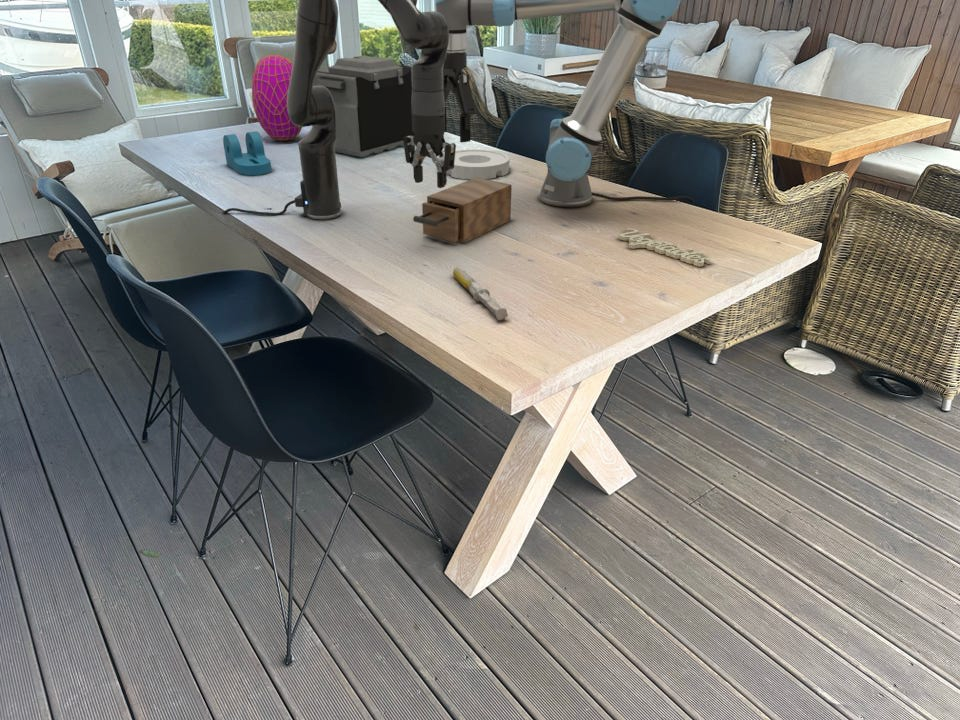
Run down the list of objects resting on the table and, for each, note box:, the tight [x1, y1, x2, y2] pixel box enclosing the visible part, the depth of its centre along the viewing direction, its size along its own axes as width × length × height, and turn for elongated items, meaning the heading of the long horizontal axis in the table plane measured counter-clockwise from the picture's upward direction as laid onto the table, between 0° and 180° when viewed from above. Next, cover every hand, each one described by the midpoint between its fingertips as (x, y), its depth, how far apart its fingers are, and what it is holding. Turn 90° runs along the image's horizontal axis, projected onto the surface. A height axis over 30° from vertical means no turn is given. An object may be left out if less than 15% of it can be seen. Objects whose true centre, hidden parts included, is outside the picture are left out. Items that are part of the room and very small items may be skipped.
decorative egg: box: [251, 54, 303, 142], centre depth 257 cm, size 19×19×30 cm
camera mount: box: [222, 131, 272, 176], centre depth 226 cm, size 18×10×10 cm, turn 35°
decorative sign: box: [618, 227, 711, 267], centre depth 169 cm, size 26×1×10 cm
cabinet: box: [426, 177, 513, 244], centre depth 180 cm, size 22×12×10 cm, turn 145°
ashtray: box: [441, 148, 511, 180], centre depth 230 cm, size 23×23×4 cm
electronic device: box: [313, 55, 414, 159], centre depth 250 cm, size 37×22×30 cm, turn 144°
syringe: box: [452, 266, 509, 321], centre depth 145 cm, size 25×4×3 cm, turn 21°
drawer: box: [412, 201, 461, 243], centre depth 175 cm, size 26×10×8 cm, turn 145°
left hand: (430, 184), depth 163 cm, fingers open, 6 cm apart
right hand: (453, 136), depth 186 cm, fingers open, 13 cm apart
